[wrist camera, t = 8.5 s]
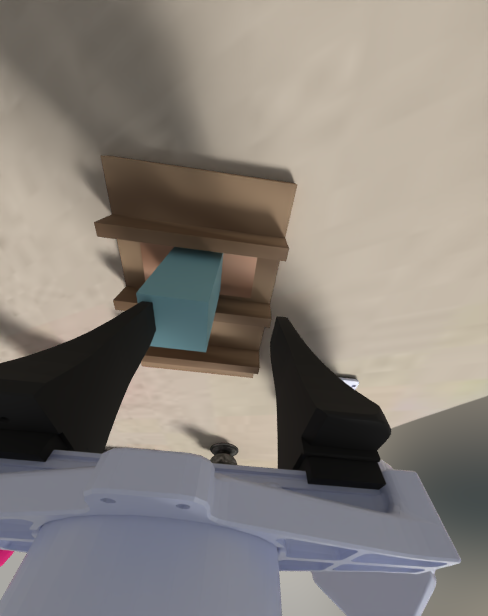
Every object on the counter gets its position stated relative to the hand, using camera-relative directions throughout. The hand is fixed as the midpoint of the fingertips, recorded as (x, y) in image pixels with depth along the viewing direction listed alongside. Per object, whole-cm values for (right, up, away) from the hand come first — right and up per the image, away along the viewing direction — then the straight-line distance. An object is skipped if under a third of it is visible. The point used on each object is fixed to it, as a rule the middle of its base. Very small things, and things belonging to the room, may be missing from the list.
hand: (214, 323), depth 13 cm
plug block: (-2, +4, +7) cm, 9 cm away
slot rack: (-3, +2, +10) cm, 11 cm away
